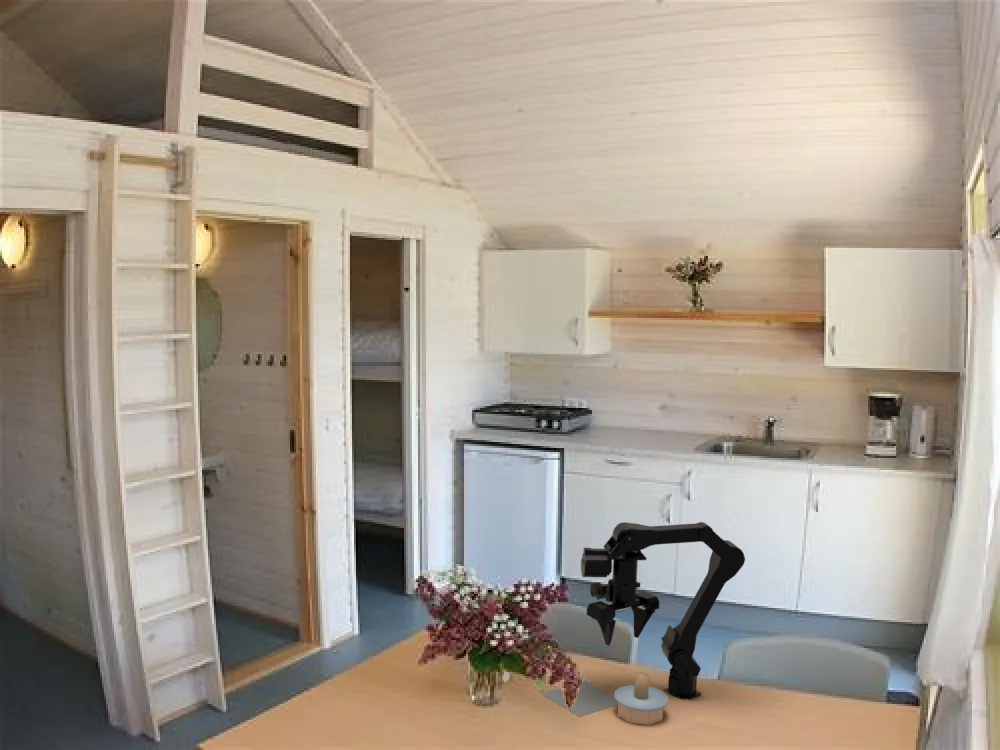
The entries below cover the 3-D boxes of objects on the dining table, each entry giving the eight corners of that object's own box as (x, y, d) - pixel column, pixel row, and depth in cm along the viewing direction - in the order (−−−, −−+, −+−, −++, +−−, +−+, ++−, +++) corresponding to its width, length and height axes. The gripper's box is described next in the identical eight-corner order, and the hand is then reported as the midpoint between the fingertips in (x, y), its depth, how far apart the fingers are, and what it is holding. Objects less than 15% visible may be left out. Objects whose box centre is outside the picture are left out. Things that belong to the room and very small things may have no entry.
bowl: (640, 702, 207) (641, 685, 207) (671, 719, 199) (672, 702, 199) (608, 712, 201) (609, 695, 201) (639, 730, 193) (640, 712, 193)
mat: (585, 682, 217) (585, 680, 217) (624, 704, 206) (625, 702, 206) (540, 695, 209) (540, 693, 209) (579, 719, 198) (579, 716, 198)
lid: (641, 683, 208) (642, 660, 208) (679, 702, 199) (680, 678, 198) (603, 695, 201) (604, 671, 201) (640, 715, 192) (641, 690, 191)
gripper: (630, 562, 221) (627, 623, 222) (572, 574, 210) (570, 637, 212) (662, 574, 212) (659, 637, 213) (604, 587, 201) (601, 653, 203)
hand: (622, 641), depth 211 cm, fingers open, 9 cm apart
